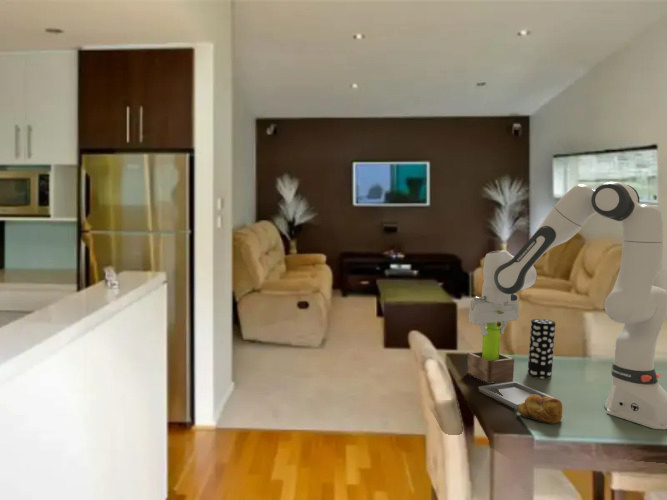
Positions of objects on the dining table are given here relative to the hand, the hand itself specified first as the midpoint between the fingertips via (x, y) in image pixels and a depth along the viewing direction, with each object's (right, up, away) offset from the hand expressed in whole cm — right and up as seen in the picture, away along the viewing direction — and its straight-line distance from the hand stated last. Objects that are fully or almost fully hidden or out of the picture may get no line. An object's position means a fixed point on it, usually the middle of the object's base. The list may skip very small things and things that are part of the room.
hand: (492, 334), depth 219 cm
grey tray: (+3, -18, -19) cm, 26 cm away
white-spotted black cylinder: (+19, -16, +7) cm, 26 cm away
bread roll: (+5, -20, -36) cm, 42 cm away
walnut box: (-1, -16, +2) cm, 16 cm away
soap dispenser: (0, -11, +1) cm, 11 cm away
